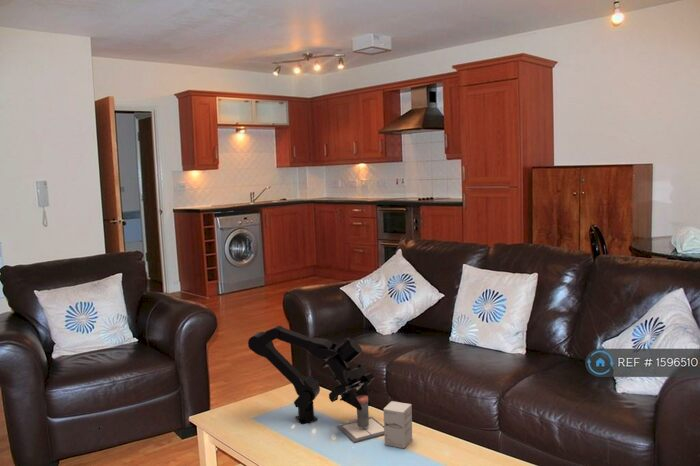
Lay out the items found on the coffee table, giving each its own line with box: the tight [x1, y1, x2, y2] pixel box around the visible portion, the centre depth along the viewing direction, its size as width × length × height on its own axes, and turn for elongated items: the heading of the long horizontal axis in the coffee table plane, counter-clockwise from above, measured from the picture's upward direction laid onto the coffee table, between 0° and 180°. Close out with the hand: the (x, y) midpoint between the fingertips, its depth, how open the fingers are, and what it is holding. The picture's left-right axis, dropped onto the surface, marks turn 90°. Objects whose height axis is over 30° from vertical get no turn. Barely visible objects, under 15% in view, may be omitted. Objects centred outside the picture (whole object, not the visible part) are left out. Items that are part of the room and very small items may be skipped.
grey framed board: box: [336, 416, 384, 444], centre depth 206 cm, size 14×14×1 cm
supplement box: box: [383, 400, 413, 449], centre depth 196 cm, size 7×7×13 cm
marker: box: [355, 395, 370, 427], centre depth 206 cm, size 4×4×10 cm
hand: (365, 407), depth 204 cm, fingers closed on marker, 4 cm apart
